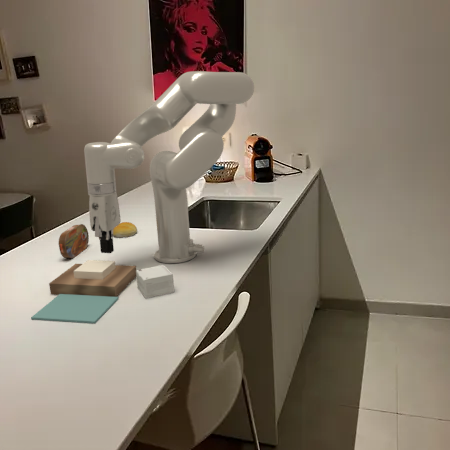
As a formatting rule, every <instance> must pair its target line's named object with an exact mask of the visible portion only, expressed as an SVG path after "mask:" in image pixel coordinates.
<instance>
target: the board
mask: <svg viewBox="0 0 450 450" xmlns="http://www.w3.org/2000/svg"><path fill="white" fill-rule="evenodd" d="M82 264H83V263H75V264H74V265H72V266H71V267H69V268H68V269H66V270H65V271H63V273H61V274H60V275H58V276H57V277H56V278H54V279H53V280H52V281H50V282H49V283H48V286H49V291H50V292H49V293H50V295H57V296H58V295H59V294H72V295H91V296H110V297H119V295H120V294H121V293H122V292H123V291H124V290H125V289H126V288H127V287H128V286H129V285H130V284H131V282H132V281H134V280H135V279H136V278H137V277H136V270H137V265H125V264H124V265H122V264H119V265H118V264H115V266H116V268H115V269H114V270H113V271H112V272H111V273H110V274H108V275H107V276H106V277H105V278H104V279H81V278H74V270H76V269H77V268H78V267H79V266H81V265H82Z"/></svg>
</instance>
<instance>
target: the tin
mask: <svg viewBox="0 0 450 450" xmlns="http://www.w3.org/2000/svg"><path fill="white" fill-rule="evenodd" d="M88 231H89V230H88V229H87V227H86V225H85V224H82V223H80V224H74V225H72V226H71V227H69V228H67V229H66V230H65V231H63V232H62V233H61V234H60V235H59V238H58V248H59V252H60V255H61V257H63V258H64V259H74V258H76V257H78V256H79V255H80V254H81V253H82V252H84V251H85V250H86V249H87V247H88V245H89V242H90V241H89V240H90V239H89V238H90V236H89V232H88Z"/></svg>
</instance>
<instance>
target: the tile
mask: <svg viewBox="0 0 450 450" xmlns="http://www.w3.org/2000/svg"><path fill="white" fill-rule="evenodd" d="M81 264H82V265H81V266H79V267H78V268H77V269H76V270H74V278H81V279H104V278H105V277H106V276H107V275H108V274H110V273H111V272H112V271H113V270H114V269H115V268H116V266H115V265H116V260H100V259H99V260H92V259H87V260H85V262H83V263H81Z"/></svg>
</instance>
